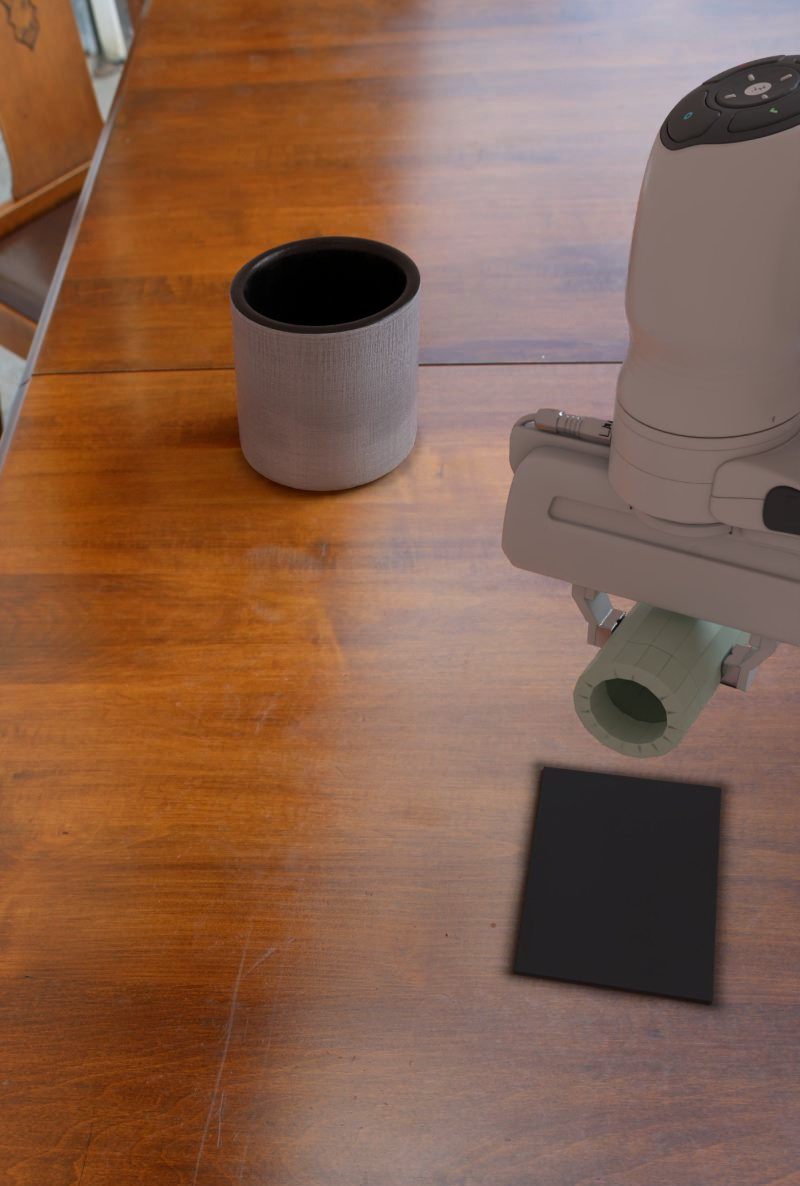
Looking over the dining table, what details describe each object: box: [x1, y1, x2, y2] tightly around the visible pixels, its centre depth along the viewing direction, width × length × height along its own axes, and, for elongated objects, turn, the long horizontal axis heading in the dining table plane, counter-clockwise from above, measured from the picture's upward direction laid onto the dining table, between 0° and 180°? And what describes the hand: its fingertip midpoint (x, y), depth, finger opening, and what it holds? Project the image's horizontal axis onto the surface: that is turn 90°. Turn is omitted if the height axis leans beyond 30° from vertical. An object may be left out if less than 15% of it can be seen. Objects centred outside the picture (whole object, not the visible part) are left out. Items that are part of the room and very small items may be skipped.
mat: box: [513, 766, 722, 1005], centre depth 88 cm, size 18×12×1 cm, turn 165°
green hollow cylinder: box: [572, 601, 751, 759], centre depth 76 cm, size 6×6×13 cm
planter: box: [229, 235, 422, 492], centre depth 115 cm, size 16×16×16 cm
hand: (670, 661), depth 76 cm, fingers closed on green hollow cylinder, 6 cm apart
